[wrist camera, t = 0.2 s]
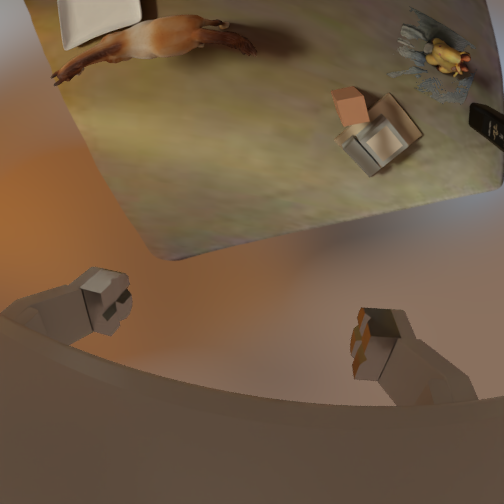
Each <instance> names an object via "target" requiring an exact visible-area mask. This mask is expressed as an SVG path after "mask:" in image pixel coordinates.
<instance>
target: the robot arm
mask: <svg viewBox="0 0 504 504" xmlns="http://www.w3.org/2000/svg"><path fill="white" fill-rule="evenodd" d="M129 285H130V283H129V278H128V276H127V275H126V274H125V273H121V272H117V271H112V270H108V269H103V268H98V267H91V268H90V269H88V270H87V271H86V272H85V273H83V274H82V275H81V276H79V277H78V278H77V279H76V280H74V281H73V282H72V283H71V284H69V285H63V286H60V287H56V288H53V289H50V290H47V291H43V292H40V293H37V294H34V295H30V296H27V297H24V298H21V299H18V300H16V301H14V302H13V303H12V304H11V305H9V306H8V307H7V308H6V309H5V310H3V311H2V312H1V313H0V504H504V396H500V397H494V398H488V399H481V400H478V397H477V395H476V393H475V390H474V388H473V386H472V383H471V381H470V379H469V377H468V376H467V375H466V374H465V373H463V372H462V371H461V370H459V369H458V368H457V367H456V366H454V365H453V364H452V363H450V362H449V361H448V360H446V359H445V358H444V357H443V356H441V355H440V354H439V353H438V352H436V351H435V350H434V349H432V348H431V347H430V346H428V345H427V344H426V343H424V342H423V341H422V340H420V339H416V337H415V334H414V332H413V330H412V327H411V325H410V323H409V321H408V318H407V316H406V313H405V311H403V310H395V309H377V308H362V307H361V309H360V311H359V313H358V316H357V320H358V326H356V327H355V328H354V330H353V333H352V337H351V343H350V352H351V356H352V357H353V358H354V361H353V364H352V368H353V375H354V379H357V380H371V381H378V383H379V384H380V385H381V387H382V388H383V389H384V390H385V392H386V393H387V394H388V395H389V397H390V398H391V399H392V400H393V401H394V403H395V404H396V405H397V406H348V405H330V404H329V405H328V404H316V403H306V402H296V401H287V400H279V399H272V398H264V397H258V396H251V395H245V394H239V393H234V392H229V391H223V390H218V389H213V388H208V387H204V386H199V385H195V384H190V383H186V382H181V381H177V380H174V379H170V378H165V377H162V376H158V375H155V374H151V373H148V372H144V371H140V370H137V369H134V368H131V367H127V366H125V365H121V364H118V363H115V362H112V361H109V360H106V359H104V358H101V357H98V356H95V355H92V354H89V353H87V352H84V351H82V350H79V349H77V348H74V347H71V346H69V345H70V344H72V343H74V342H76V341H77V340H79V339H81V338H83V337H85V336H87V335H89V334H91V333H92V332H93V331H94V332H97V333H101V334H105V335H108V336H112V335H113V334H114V332H115V331H116V330H117V329H118V328H119V326H120V321H121V320H124V319H126V318H127V317H128V315H129V314H130V311H131V308H132V295H131V293H130V292H129V291H128V289H127V288H128V286H129Z"/></svg>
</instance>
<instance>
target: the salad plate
mask: <svg viewBox="0 0 504 504" xmlns="http://www.w3.org/2000/svg"><path fill="white" fill-rule="evenodd" d="M57 3H58V11H59V19H60V27H61V35H62V42H63V47H64V50H70V49H72V48H74V47H76V46H78V45H80V44H82V43H84V42H86V41H89V40H91V39H93V38H95V37H98V36H100V35H103V34H105V33H108V32H111V31H114V30H117V29H120V28H124V27H127V26H130V25H134V24H136V23H139V22H140V21H141V20H142V8H141V2H140V0H57Z"/></svg>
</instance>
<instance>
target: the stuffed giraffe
mask: <svg viewBox="0 0 504 504" xmlns="http://www.w3.org/2000/svg"><path fill="white" fill-rule="evenodd" d="M409 7H410V6H409ZM410 8H411V10H410V12H412V11H414V12H415V13H416V14H417V15H418V18H419V19H421V20H420V21H417V22H418V23H419V24H420V26H418V27H416V26H414V25H411V24H404V23H403V27H402V29H401V34H402V36H405V37H406V38H407V39H411V38H416V39H417V40H418V38H421V39H423V40H425V41H428V42H427V43H426V44H425V46H424V50H423V52H419V51H414V50H413V49H408V48H407V46H406V49H405V46H404V47H403V48H404V49H403V48H402V47H399V48H400V50H399V49H398V51H399V53H400V54H401V55H402V56H403V55H404V56H405V58H407V57H408V58H412V59H411V60H413V59H417V60H414V62H415V64H416V65H417V66H424V64H423V63H424V62H425V61H426V62H428V63H429V64H431V65H436V67H437V70H438V71H440V72H442V73H452V72H456V73H455V74H454V75H453V77H456V75H457V74H458V73H459V74H460V75H462V74H463V72H462V71H464V72H467V71H468V67H467V66H466V65H465V64H464V63H463V61H465V62H468V61H470V60H471V57H470V54H469V53H468V52H463V51H464V48H465V46H467V45H470V46H471V48H474V49H476V48H475V47H474V46H473V45H472V44H471V43H469V42H468V41H467V40H465V39H464V38H463V37H461V36H460V35H458V34H457V33H455V32H454V31H452V30H451V29H449V28H447V27H446V26H444V25H443V24H441V23H439V22H437V21H436V20H434V19H432V18H430V17H429V16H427V15H425V14H423V13H421V12H419V11H417V10H415V9H414V8H412V7H410ZM397 42H401V43H402V44H405V45H409V46H411V47H414V46H413V45H411V44H409V43H410V42H409V41H407V40H405V39H404V40H403V39H402V38H398V41H397ZM465 50H466V49H465ZM424 53H425V54H427V55H425V54H424ZM404 56H403V57H404ZM406 56H407V57H406ZM476 70H477V69H476ZM404 71H405V70H404ZM422 72H426V73H428V72H427V70H423V69H421V68H419V67H414V66H413V67H412V68H409V70H406V72H403V71H402V72H392V73H388V74H386V75H388V76H391V77H393V78H395V77H397V76H399V75H402V74H415V73H422ZM469 74H471V76H470V77H469V78H468V79H466V78H464V79H463V80H462V81H461V80H460V82H459V86H460V84H461V85H462V84H463V86H466V85H467V87H466V89H464V88H458V87H457V88H456V90H457V92H456V91H455V92H454V93H452V92H451V93H450V92H448V93H447V94H444V93H443V94H440V93H439V91H438V90H436V91H437V92H436V91H435V89H436V87H435V84H434V86H433V85H432V83H434V82H436V83H437V81H438V80H437V81H436V80H435V78H434V77H433V78H434V80H433V79H431V78H429V79H425V80H426V81H425V82H422V83H421V84H420V85H417V86H419V88H422V87H424V88H423V89H426V88H428V89H427V90H426V91H427V92H429V91H431V92H432V93H433V94H432V95H430V97H432V98H433V99H435V100H437V101H439V102H440V103H442V104H443V103H444V102H445V101H447V102H449V103H450V102H453V103H455V102H459V103H461V104H463V102H464V101H465V99H466V96H467V93H468V91H467V88H468V90H469V88H470V86H471V84H472V81H473V78H474V75H475V73H474V74H473V73H469ZM416 77H417V78H418V77H421V75H416ZM430 79H431V80H430ZM436 79H437V78H436ZM461 79H462V78H461ZM457 80H458V79H457ZM422 81H424V80H422ZM440 81H441V80H440ZM458 81H459V80H458ZM428 82H429V83H428ZM416 83H417V82H416ZM438 83H439V85H440V86H441V84H440V82H439V81H438ZM438 83H437V85H438ZM452 83H453V82H452ZM422 84H423V85H422ZM428 84H429V85H428ZM457 86H458V85H457ZM434 88H435V89H434ZM438 88H439V87H438ZM415 89H416V88H415ZM423 89H417V90H419V91H421V90H423ZM459 89H460V90H461V91H460V93H459V92H458V91H459ZM428 90H429V91H428ZM441 90H443V89H441ZM445 91H446V90H445ZM466 91H467V92H466ZM421 92H425V91H421ZM434 92H435V93H434ZM463 93H465V94H463ZM439 94H440V95H439ZM441 95H443V97H441ZM428 96H429V95H428ZM439 96H440V98H439ZM461 104H460V105H461Z"/></svg>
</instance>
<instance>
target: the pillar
mask: <svg viewBox="0 0 504 504" xmlns="http://www.w3.org/2000/svg"><path fill="white" fill-rule="evenodd" d="M331 93H332V97H333V100H334V103H335V107H336V110H337V113H338V115H339V118H340V120H341V122H342V124H343V126H349V125H354V124H359V123H364V122H370V120H369V116H368V112H367V107H366V103H365V99H364V96H363V95H362V94H361V93H360V92H359V91H358V90H357V89H356V88H355V87H354V86H352V87H347V88H342V89H337V90H332V91H331Z"/></svg>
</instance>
